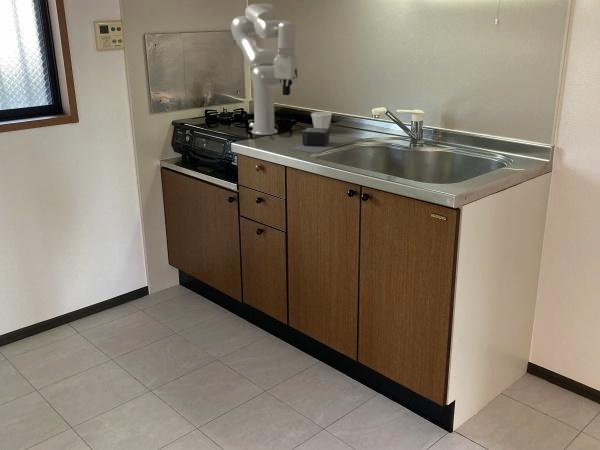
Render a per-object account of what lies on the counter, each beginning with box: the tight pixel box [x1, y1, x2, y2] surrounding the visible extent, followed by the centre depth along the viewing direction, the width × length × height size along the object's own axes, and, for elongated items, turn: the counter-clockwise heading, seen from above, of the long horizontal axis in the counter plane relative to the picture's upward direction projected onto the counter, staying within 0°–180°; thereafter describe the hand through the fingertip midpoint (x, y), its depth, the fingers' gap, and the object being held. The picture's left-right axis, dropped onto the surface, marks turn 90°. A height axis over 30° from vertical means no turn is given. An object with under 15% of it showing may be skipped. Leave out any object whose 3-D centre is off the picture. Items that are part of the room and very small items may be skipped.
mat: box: [290, 141, 346, 155], centre depth 273 cm, size 14×22×1 cm, turn 143°
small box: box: [302, 127, 330, 146], centre depth 277 cm, size 11×6×10 cm
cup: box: [310, 111, 333, 129], centre depth 303 cm, size 10×10×9 cm
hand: (286, 94), depth 276 cm, fingers closed
